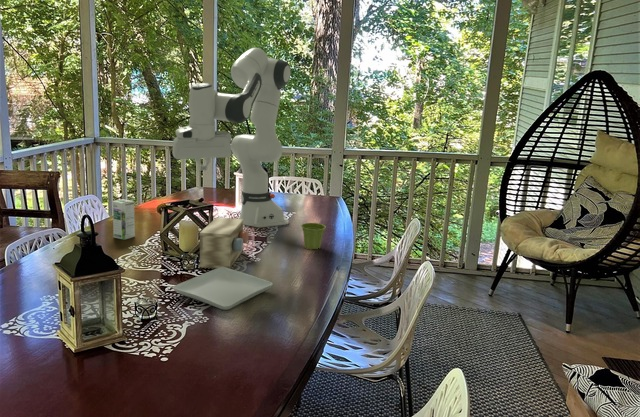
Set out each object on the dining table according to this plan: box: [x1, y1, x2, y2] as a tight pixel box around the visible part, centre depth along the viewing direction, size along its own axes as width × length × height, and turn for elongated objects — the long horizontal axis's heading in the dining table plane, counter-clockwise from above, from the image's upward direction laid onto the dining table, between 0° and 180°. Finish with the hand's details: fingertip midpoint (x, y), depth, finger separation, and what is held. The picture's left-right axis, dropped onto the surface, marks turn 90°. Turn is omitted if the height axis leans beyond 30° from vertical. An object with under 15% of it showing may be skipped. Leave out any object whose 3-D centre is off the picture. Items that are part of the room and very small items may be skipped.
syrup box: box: [112, 198, 136, 241], centre depth 187 cm, size 6×6×14 cm
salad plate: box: [172, 267, 274, 311], centre depth 142 cm, size 21×21×3 cm
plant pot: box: [301, 222, 327, 250], centre depth 188 cm, size 9×9×9 cm
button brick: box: [238, 230, 249, 244], centre depth 174 cm, size 7×4×4 cm, turn 86°
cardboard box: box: [199, 217, 244, 269], centre depth 170 cm, size 10×20×12 cm, turn 176°
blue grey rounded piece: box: [232, 238, 244, 252], centre depth 165 cm, size 7×4×4 cm, turn 86°
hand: (202, 170), depth 174 cm, fingers closed
